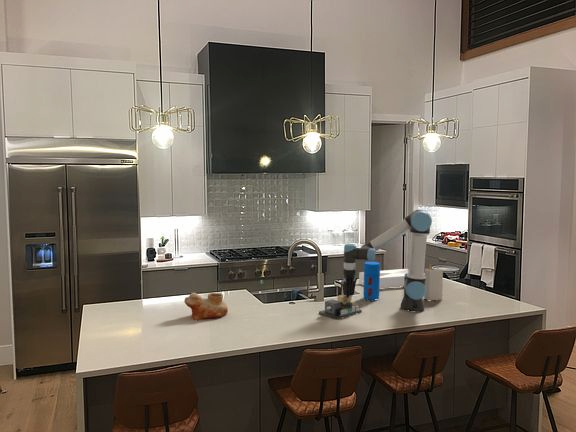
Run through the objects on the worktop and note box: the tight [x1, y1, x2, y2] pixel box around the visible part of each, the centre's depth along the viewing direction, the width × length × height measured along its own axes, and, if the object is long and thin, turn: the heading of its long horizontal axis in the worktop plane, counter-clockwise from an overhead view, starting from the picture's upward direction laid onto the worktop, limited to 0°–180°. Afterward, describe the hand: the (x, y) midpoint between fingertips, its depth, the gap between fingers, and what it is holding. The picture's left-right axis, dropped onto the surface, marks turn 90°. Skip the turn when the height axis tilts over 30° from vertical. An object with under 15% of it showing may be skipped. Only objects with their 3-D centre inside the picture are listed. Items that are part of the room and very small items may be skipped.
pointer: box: [346, 302, 352, 311], centre depth 323 cm, size 3×2×5 cm, turn 42°
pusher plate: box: [326, 294, 356, 310], centre depth 324 cm, size 12×16×8 cm
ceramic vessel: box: [184, 292, 229, 321], centre depth 317 cm, size 14×26×15 cm, turn 111°
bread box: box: [358, 268, 425, 289], centre depth 407 cm, size 45×22×10 cm, turn 112°
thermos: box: [362, 261, 381, 301], centre depth 363 cm, size 11×11×25 cm
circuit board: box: [318, 298, 363, 320], centre depth 328 cm, size 15×23×8 cm, turn 132°
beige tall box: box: [423, 264, 444, 300], centre depth 364 cm, size 8×12×26 cm
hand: (348, 305), depth 333 cm, fingers closed
